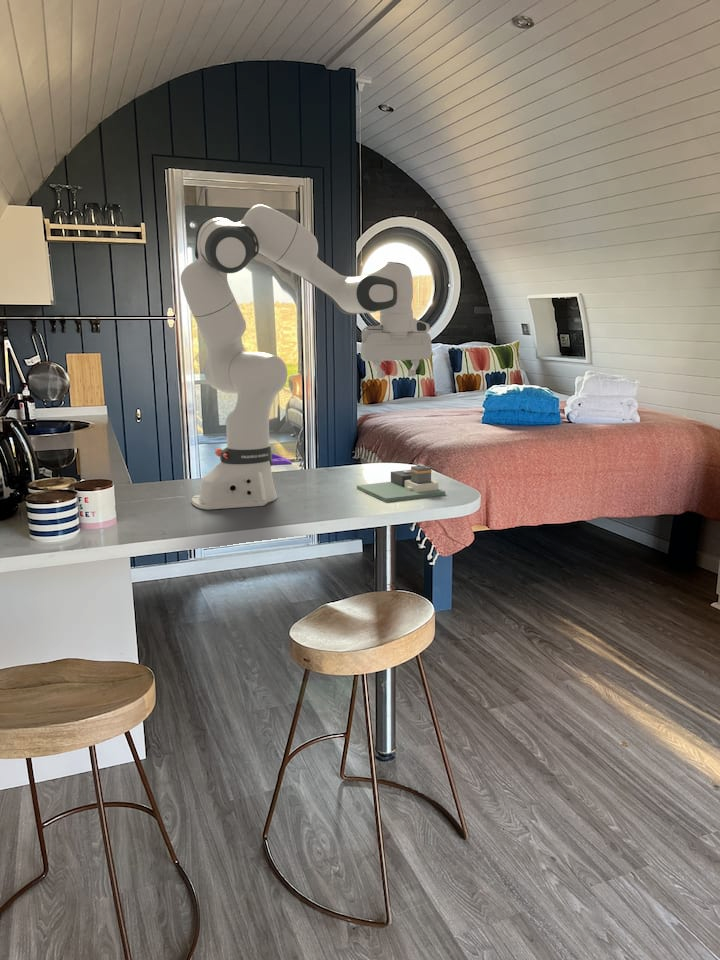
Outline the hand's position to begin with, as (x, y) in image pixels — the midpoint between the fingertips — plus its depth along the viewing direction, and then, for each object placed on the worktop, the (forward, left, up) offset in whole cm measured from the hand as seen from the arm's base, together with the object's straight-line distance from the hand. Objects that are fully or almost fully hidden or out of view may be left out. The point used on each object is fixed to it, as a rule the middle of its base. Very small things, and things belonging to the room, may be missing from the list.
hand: (396, 377), depth 203 cm
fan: (+4, +1, -30) cm, 30 cm away
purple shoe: (-20, +50, -32) cm, 63 cm away
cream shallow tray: (+4, -7, -31) cm, 32 cm away
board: (-1, -4, -31) cm, 31 cm away
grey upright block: (+4, -7, -30) cm, 31 cm away
